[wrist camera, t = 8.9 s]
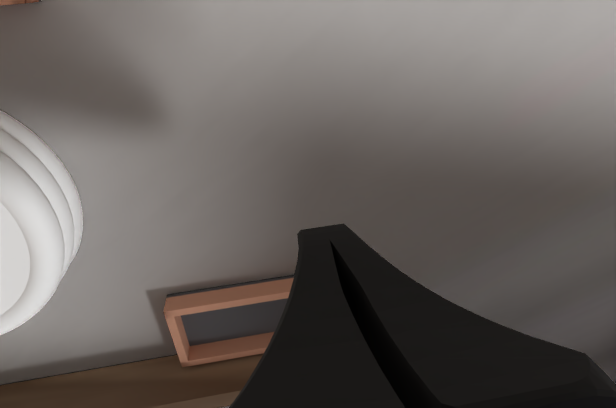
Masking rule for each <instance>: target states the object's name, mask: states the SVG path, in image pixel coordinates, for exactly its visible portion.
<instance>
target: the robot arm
mask: <svg viewBox="0 0 616 408" xmlns="http://www.w3.org/2000/svg"><path fill="white" fill-rule="evenodd" d="M297 235H298V244H299V252H298V260H297V265H296V270H295V275H294V279H293V283H292V286H291V290H290V293H289V297H288V300H287V303H286V305H285V308H284V311H283V313H282V316H281V318H280V321H279V323H278V326H277V328H276V330H275V332H274V334H273V336H272V338H271V340H270V342H269V345H268V347H267V348H266V350H265V352H264V354H263V356H262V358H261V359H260V361H259V363H258V364H257V366H256V368H255V369H254V371H253V373H252V374H251V376H250V378H249V379H248V381H247V383H246V384H245V386H244V387H243V389H242V390H241V392H240V393H239V395H238V396H237V397H236V399H235V400H234V402H233V403H232V404H231V406H230V407H229V408H616V385H615V383H614V382H613V381H612V380H611V379H610V378H609V377H608V376H607V375H606V374H605V373H604V372H603V371H602V370H601V369H600V368H599V367H598V366H597V365H596V364H595V363H594V362H593V361H592V360H591V359H590V358H589V357H588V356H587V355H586V354H584V353H581V352H578V351H575V350H572V349H569V348H566V347H562V346H559V345H556V344H553V343H550V342H547V341H543V340H540V339H537V338H534V337H531V336H528V335H526V334H523V333H520V332H518V331H515V330H513V329H510V328H507V327H505V326H502V325H500V324H497V323H495V322H492V321H490V320H488V319H485V318H483V317H481V316H479V315H477V314H474V313H472V312H470V311H468V310H466V309H464V308H462V307H460V306H458V305H456V304H454V303H452V302H450V301H448V300H446V299H444V298H442V297H441V296H439V295H437V294H436V293H434V292H432V291H430V290H429V289H427V288H425V287H423V286H422V285H420V284H419V283H417V282H416V281H414V280H412V279H411V278H410V277H408V276H407V275H405V274H404V273H402V272H401V271H399V270H398V269H397V268H395V267H394V266H393V265H392V264H390V263H389V262H388V261H386V260H385V259H384V258H383V257H381V256H380V255H379V254H378V253H377V252H375V251H374V250H373V249H372V248H371V247H369V246H368V245H367V244H366V243H365V242H364V241H363V240H361V239H360V238H359V237H358V236H357V235H356V234H355V233H354V232H353V231H352V230H351V229H349V228H348V227H347V226H346V225H345V224H338V225H332V226H325V227H318V228H312V229H305V230H301V231H300V232H299V233H298V234H297Z"/></svg>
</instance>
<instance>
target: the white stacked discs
mask: <svg viewBox="0 0 616 408" xmlns="http://www.w3.org/2000/svg"><path fill="white" fill-rule="evenodd" d="M82 233H83V211H82V205H81V200H80V197H79V194H78V190H77V188H76V185H75V183H74V181H73V179H72V177H71V175H70V174H69V172H68V170H67V169H66V167H65V166H64V164H63V163H62V161H61V160H60V159H59V158H58V156H57V155H56V154H55V153H54V152H53V150H52V149H51V148H50V147H49V146H48V145H47V144H46V143H45V142H44V141H43V140H42V139H41V138H40V137H39V136H37V135H36V134H35V133H34V132H32V131H31V130H30V129H29V128H27V127H26V126H25V125H24V124H22V123H21V122H19V121H17V120H16V119H14V118H13V117H11V116H10V115H8V114H7V113H5V112H3V111H1V110H0V335H2V334H5V333H7V332H9V331H12V330H13V329H15V328H17V327H19V326H20V325H22V324H24V323H25V322H26V321H28V320H29V319H30V318H31V317H33V316H34V315H35V314H36V313H38V312H39V311H40V310H41V309H42V308H43V307H44V306H45V304H46V303H47V302H48V301H49V300H50V299H51V297H52V295H53V294H54V292H55V291H56V289H57V287H58V285H59V282H60V281H61V279H62V278H63V276H64V275H65V273H66V272H67V269H68V267H69V265H70V264H71V262H72V261H73V259H74V257H75V256H76V253H77V251H78V249H79V246H80V243H81V238H82Z"/></svg>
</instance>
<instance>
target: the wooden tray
mask: <svg viewBox="0 0 616 408" xmlns="http://www.w3.org/2000/svg"><path fill="white" fill-rule="evenodd" d="M263 354H264V353H262V354H256V355H251V356H245V357H239V358H234V359H228V360H222V361H217V362H211V363H205V364H200V365H194V366H188V367H183V368H182V366H181V363H180V360H179V357H178V355H173V356H167V357H162V358H156V359H150V360H144V361H138V362H133V363H127V364H121V365H115V366H110V367H104V368H98V369H92V370H86V371H81V372H75V373H69V374H63V375H57V376H52V377H46V378H40V379H34V380H29V381H23V382H17V383H11V384H5V385H0V408H219V407H225V406H230V405H231V404H232V403H233V402H234V400H235V399H236V397H237V396H238V395H239V393H240V392H241V390H242V389H243V387H244V386H245V384H246V383H247V381H248V379H249V378H250V376H251V374H252V373H253V371H254V369H255V368H256V366H257V364H258V363H259V361H260V359H261V358H262V356H263Z"/></svg>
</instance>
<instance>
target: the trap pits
mask: <svg viewBox="0 0 616 408" xmlns="http://www.w3.org/2000/svg"><path fill="white" fill-rule="evenodd" d="M33 2H41V0H0V5H12V4H24V3H33ZM293 279H294V275H292V276H285V277H279V278H273V279H266V280H260V281H254V282H247V283H241V284H235V285H228V286H222V287H216V288H209V289H203V290H196V291H190V292H184V293H177V294H171V295H167V297H166V302H165V307H164V315H165V318H166V321H167V324H168V327H169V330H170V333H171V336H172V339H173V342H174V345H175V348H176V351H177V354H178V357H179V360H180V363H181V366H182V368H183V367H188V366H194V365H200V364H205V363H211V362H217V361H222V360H228V359H234V358H239V357H245V356H251V355H256V354H262V353H264V352H265V350H266V348H267V347H268V345H269V342H270V340H271V338H272V336H273V334H274V332H275V330H276V328H277V326H278V323H279V321H280V318H281V316H282V313H283V311H284V308H285V305H286V303H287V300H288V297H289V293H290V290H291V286H292V283H293Z"/></svg>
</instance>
